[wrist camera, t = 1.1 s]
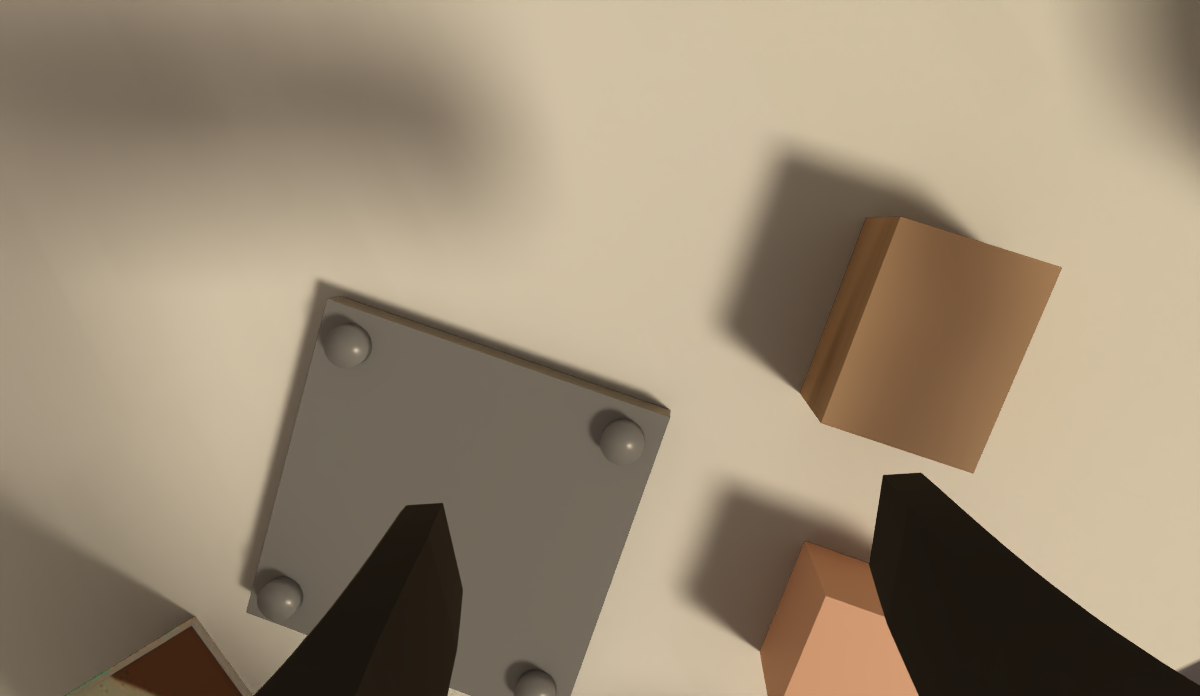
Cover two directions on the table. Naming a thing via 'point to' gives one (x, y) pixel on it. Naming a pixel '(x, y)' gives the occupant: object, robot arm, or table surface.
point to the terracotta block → (832, 633)
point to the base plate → (460, 490)
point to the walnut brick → (926, 339)
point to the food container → (170, 669)
